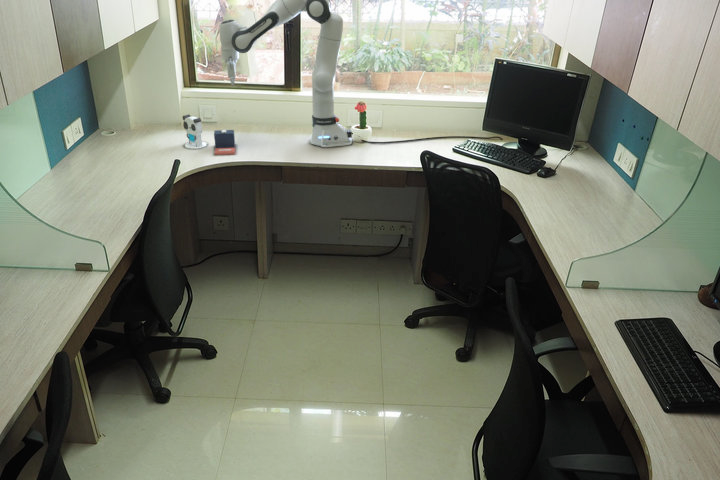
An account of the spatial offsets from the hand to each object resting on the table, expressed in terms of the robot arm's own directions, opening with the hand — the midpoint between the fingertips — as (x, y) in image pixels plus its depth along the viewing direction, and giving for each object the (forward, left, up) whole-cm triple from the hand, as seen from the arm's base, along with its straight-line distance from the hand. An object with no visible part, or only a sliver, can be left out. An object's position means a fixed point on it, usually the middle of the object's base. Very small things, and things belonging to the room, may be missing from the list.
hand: (233, 83), depth 319 cm
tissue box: (+6, +12, -29) cm, 33 cm away
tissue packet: (+6, +21, -29) cm, 37 cm away
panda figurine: (+22, +8, -30) cm, 38 cm away
